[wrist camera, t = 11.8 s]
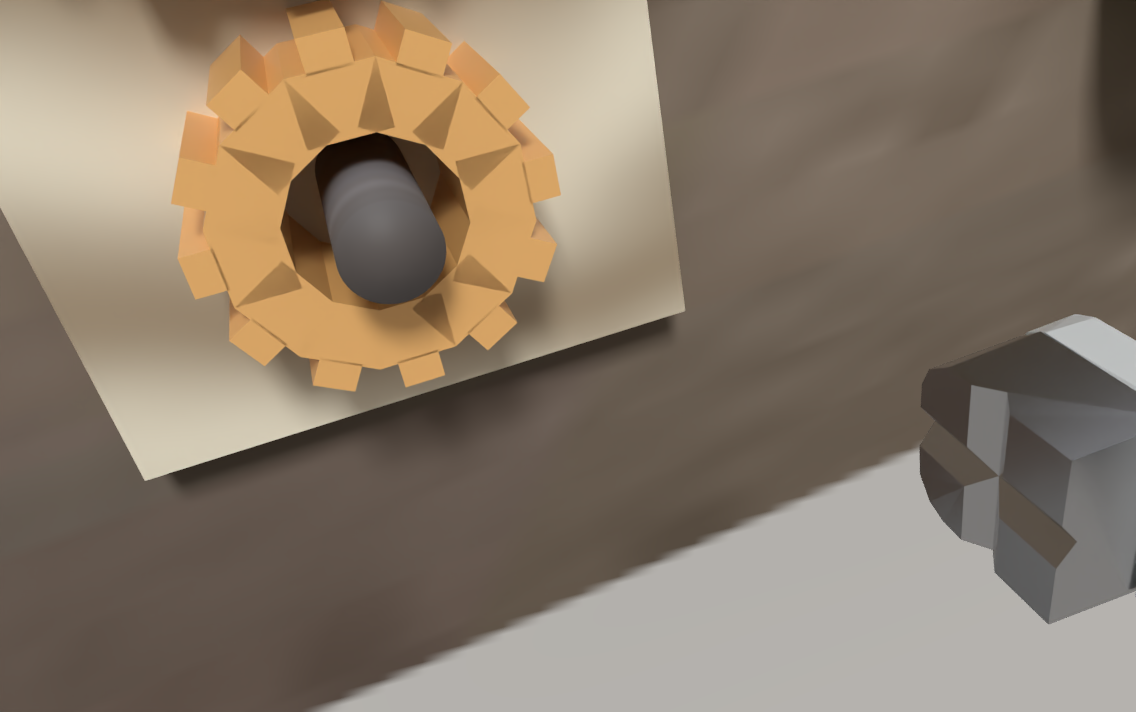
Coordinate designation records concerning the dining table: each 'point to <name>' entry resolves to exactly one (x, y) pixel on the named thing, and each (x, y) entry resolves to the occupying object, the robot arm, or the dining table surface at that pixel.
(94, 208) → the gear board
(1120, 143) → the dining table surface
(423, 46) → the orange gear
